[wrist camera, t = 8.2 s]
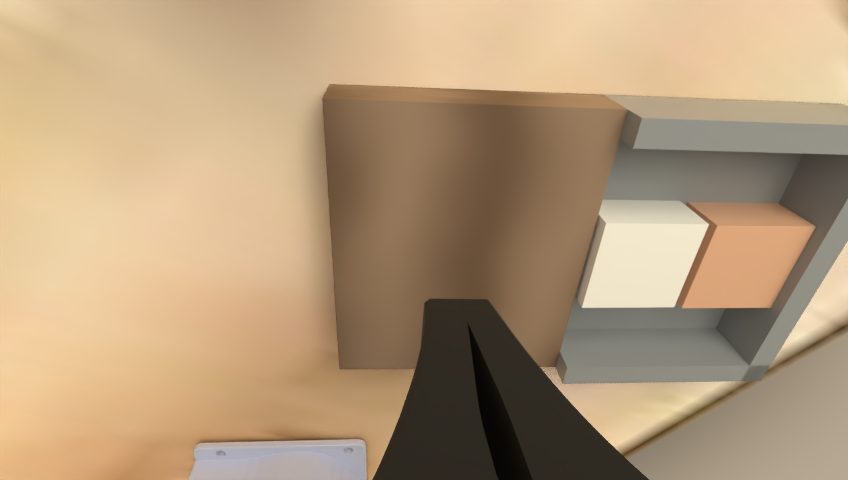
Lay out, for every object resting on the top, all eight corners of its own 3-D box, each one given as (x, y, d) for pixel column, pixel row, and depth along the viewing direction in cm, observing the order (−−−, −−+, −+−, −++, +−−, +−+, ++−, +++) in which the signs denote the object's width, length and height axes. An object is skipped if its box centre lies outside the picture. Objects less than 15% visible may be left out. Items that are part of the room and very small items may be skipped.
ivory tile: (566, 279, 20) (581, 307, 19) (586, 199, 18) (606, 223, 17) (650, 279, 21) (674, 307, 19) (680, 200, 19) (709, 224, 17)
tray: (543, 336, 23) (562, 383, 20) (603, 94, 17) (642, 118, 14) (720, 336, 24) (760, 380, 21) (840, 103, 18) (917, 127, 15)
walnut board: (343, 338, 22) (339, 369, 20) (329, 84, 16) (322, 98, 14) (543, 336, 23) (555, 366, 21) (603, 94, 17) (628, 109, 15)
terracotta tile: (657, 280, 21) (681, 308, 19) (687, 201, 19) (717, 225, 17) (739, 280, 21) (770, 307, 19) (778, 203, 19) (816, 226, 17)
